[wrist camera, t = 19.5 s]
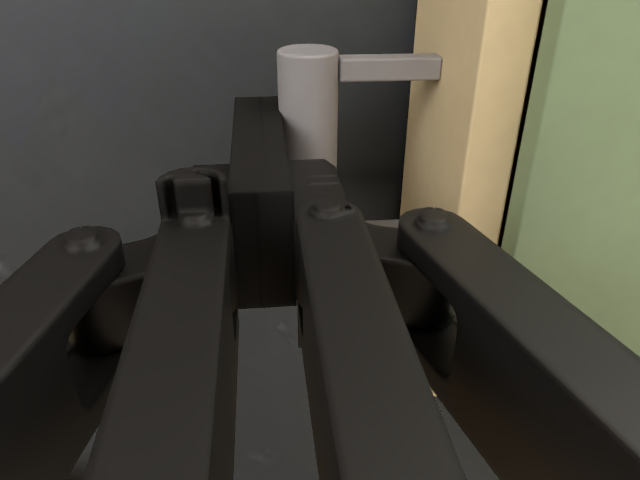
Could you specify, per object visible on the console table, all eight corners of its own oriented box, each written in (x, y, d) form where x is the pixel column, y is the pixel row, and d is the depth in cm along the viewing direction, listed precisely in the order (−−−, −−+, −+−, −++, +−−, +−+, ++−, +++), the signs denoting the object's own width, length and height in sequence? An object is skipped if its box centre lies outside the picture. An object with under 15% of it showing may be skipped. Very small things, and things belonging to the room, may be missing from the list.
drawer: (283, 294, 22) (290, 407, 17) (268, -116, 15) (273, -131, 10) (784, 268, 24) (926, 364, 18) (971, -111, 17) (1272, -121, 12)
